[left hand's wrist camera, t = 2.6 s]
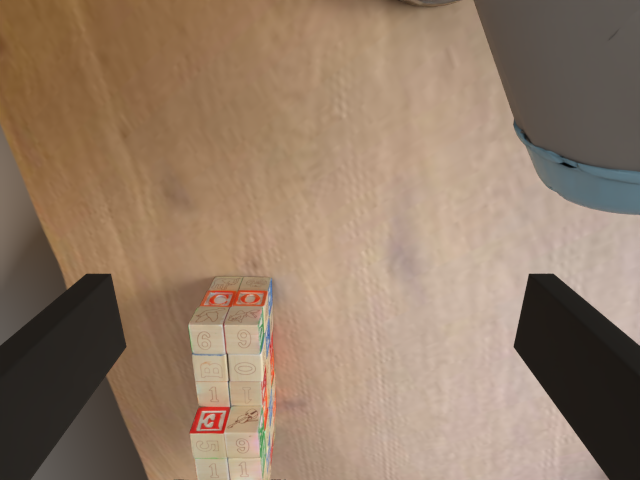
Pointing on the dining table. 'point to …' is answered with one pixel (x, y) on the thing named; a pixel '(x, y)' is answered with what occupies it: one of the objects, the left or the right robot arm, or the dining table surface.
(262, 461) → the stack of blocks
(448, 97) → the dining table surface
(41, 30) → the dining table surface
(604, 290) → the dining table surface
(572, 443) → the dining table surface
